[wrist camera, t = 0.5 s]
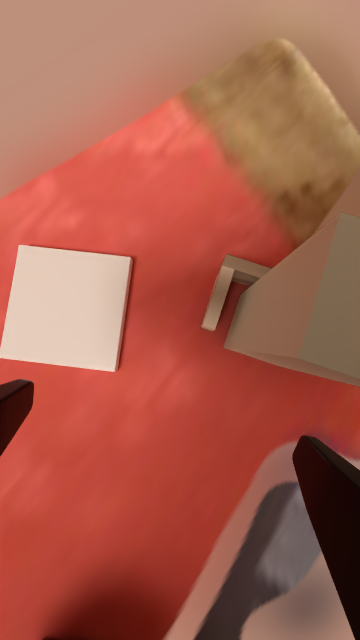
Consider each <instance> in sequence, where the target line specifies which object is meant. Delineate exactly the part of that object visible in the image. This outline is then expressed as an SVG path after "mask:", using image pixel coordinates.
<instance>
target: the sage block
mask: <svg viewBox="0 0 360 640" xmlns="http://www.w3.org/2000/svg"><path fill="white" fill-rule="evenodd" d="M223 348H226V349H229V350H232V351H235V352H238V353H241V354H244V355H247V356H250V357H253V358H255V359H258V360H261V361H264V362H267V363H270V364H273V365H276V366H280V367H284V368H288V369H291V370H295V371H299V372H303V373H307V374H311V375H315V376H319V377H323V378H327V379H331V380H335V381H338V382H342V383H346V384H350V385H354V386H358V387H360V218H359V217H356V216H353V215H349V214H346V213H343V212H340V213H339V214H338V215H337V216H335V217H334V218H333V219H332V220H331V221H329V222H328V223H327V224H326V225H324V226H323V227H322V228H321V229H320V230H318V231H317V232H316V233H315V234H314V235H312V236H311V237H310V238H309V239H307V240H306V241H305V242H304V243H303V244H301V245H300V246H299V247H298V248H296V249H295V250H294V251H293V252H292V253H290V254H289V255H288V256H287V257H286V258H284V259H283V260H282V261H281V262H279V263H278V264H277V265H276V266H275V267H273V268H272V269H271V270H270V271H269V272H267V273H266V274H265V275H264V276H262V277H261V278H260V279H259V280H258V281H256V282H255V283H254V284H253V285H252V286H250V287H249V288H248V289H247V290H245V291H244V292H243V293H242V294H241V295H240V297H239V300H238V303H237V306H236V309H235V312H234V316H233V319H232V322H231V325H230V328H229V331H228V334H227V337H226V340H225V344H224V347H223Z"/></svg>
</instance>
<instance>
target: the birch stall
mask: <svg viewBox="0 0 360 640" xmlns="http://www.w3.org/2000/svg"><path fill="white" fill-rule="evenodd" d="M271 269H272V268H269V267H266V266H263V265H260V264H256V263H253V262H250V261H247V260H244V259H241V258H238V257H235V256H232V255H228V254H226V256H225V258H224V260H223V262H222V264H221V266H220V269H219V272H218V275H217V278H216V281H215V284H214V287H213V290H212V293H211V296H210V299H209V302H208V305H207V308H206V311H205V314H204V317H203V320H202V323H201V326H200V328H202V329H205V330H208V331H213V330H215V329H216V325H217V322H218V319H219V316H220V313H221V310H222V307H223V304H224V301H225V298H226V295H227V292H228V289H229V285H230V282H231V281H234V282H237V283H240V284H244V285H247V286H252V285H253V284H254V283H255V282H256V281H258V280H259V279H260V278H261V277H262V276H264V275H265V274H266V273H267V272H269V271H270V270H271Z"/></svg>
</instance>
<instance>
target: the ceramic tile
mask: <svg viewBox="0 0 360 640" xmlns="http://www.w3.org/2000/svg"><path fill="white" fill-rule="evenodd" d="M132 264H133V260H132V259H131V257H125V256H116V255H107V254H98V253H89V252H80V251H71V250H62V249H53V248H43V247H34V246H25V245H19V249H18V255H17V260H16V266H15V271H14V277H13V282H12V288H11V293H10V299H9V304H8V310H7V315H6V321H5V326H4V332H3V337H2V343H1V348H0V358H5V359H13V360H21V361H30V362H38V363H46V364H54V365H63V366H71V367H79V368H87V369H96V370H104V371H112V372H115V371H118V365H119V358H120V351H121V343H122V336H123V329H124V322H125V314H126V307H127V300H128V293H129V285H130V278H131V271H132Z"/></svg>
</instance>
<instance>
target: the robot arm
mask: <svg viewBox="0 0 360 640" xmlns="http://www.w3.org/2000/svg"><path fill="white" fill-rule="evenodd" d="M33 395H34V383H33V382H32V381H29V380H24V379H17V380H14V381H11V382H8V383H5V384H2V385H0V456H1V455H2V453H3V452H4V450H5V449H6V447H7V446H8V444H9V443H10V441H11V440H12V438H13V437H14V435H15V434H16V432H17V431H18V429H19V427H20V426H21V424H22V423H23V421H24V420H25V418H26V417H27V415H28V414H29V412H30V410H31V408H32V405H33ZM292 459H293V464H294V467H295V471H296V474H297V478H298V481H299V485H300V489H301V492H302V496H303V499H304V503H305V506H306V509H307V512H308V515H309V518H310V521H311V523H312V526H313V529H314V531H315V534H316V537H317V539H318V542H319V545H320V547H321V550H322V553H323V555H324V558H325V560H326V563H327V566H328V569H329V571H330V574H331V577H332V579H333V582H334V584H335V587H336V590H337V592H338V595H339V598H340V600H341V603H342V606H343V608H344V611H345V614H346V616H347V619H348V622H349V624H350V627H351V630H352V632H353V635H354V638H355V640H360V470H359V469H357V468H356V467H354V466H353V465H352V464H351V463H349V462H348V461H347V460H345V459H344V458H342V457H341V456H340V455H338V454H337V453H336V452H334V451H333V450H332V449H330V448H329V447H328V446H326V445H325V444H324V443H322V442H321V441H320V440H318V439H317V438H315V437H311V436H306V435H303V436H301V437H300V439H299V441H298V443H297V446H296V448H295V450H294V452H293V457H292Z"/></svg>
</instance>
